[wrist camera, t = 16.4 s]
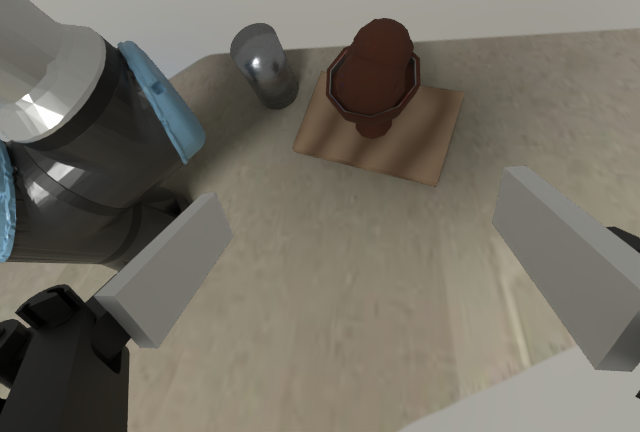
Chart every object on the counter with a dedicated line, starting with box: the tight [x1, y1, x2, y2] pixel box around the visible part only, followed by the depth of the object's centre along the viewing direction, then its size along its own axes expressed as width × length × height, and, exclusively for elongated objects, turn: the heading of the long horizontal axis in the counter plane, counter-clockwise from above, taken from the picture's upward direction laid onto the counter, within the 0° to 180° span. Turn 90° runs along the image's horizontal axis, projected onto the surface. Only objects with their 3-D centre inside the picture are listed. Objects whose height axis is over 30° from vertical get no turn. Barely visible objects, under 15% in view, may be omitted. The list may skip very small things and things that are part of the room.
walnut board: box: [292, 71, 465, 187], centre depth 40 cm, size 22×14×2 cm, turn 70°
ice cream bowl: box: [326, 18, 420, 139], centre depth 32 cm, size 11×11×15 cm
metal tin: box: [230, 23, 298, 110], centre depth 42 cm, size 7×7×10 cm
